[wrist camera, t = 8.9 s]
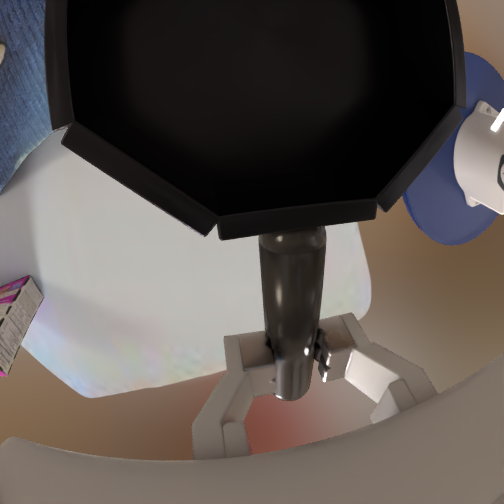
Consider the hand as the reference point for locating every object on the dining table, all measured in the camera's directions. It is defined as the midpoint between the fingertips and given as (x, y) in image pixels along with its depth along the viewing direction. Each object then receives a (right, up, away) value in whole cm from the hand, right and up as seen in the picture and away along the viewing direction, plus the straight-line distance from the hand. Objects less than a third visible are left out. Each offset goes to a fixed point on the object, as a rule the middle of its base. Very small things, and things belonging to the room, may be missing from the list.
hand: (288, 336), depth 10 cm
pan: (-1, +6, -2) cm, 6 cm away
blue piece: (-35, +32, +4) cm, 48 cm away
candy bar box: (-40, -4, +24) cm, 47 cm away
